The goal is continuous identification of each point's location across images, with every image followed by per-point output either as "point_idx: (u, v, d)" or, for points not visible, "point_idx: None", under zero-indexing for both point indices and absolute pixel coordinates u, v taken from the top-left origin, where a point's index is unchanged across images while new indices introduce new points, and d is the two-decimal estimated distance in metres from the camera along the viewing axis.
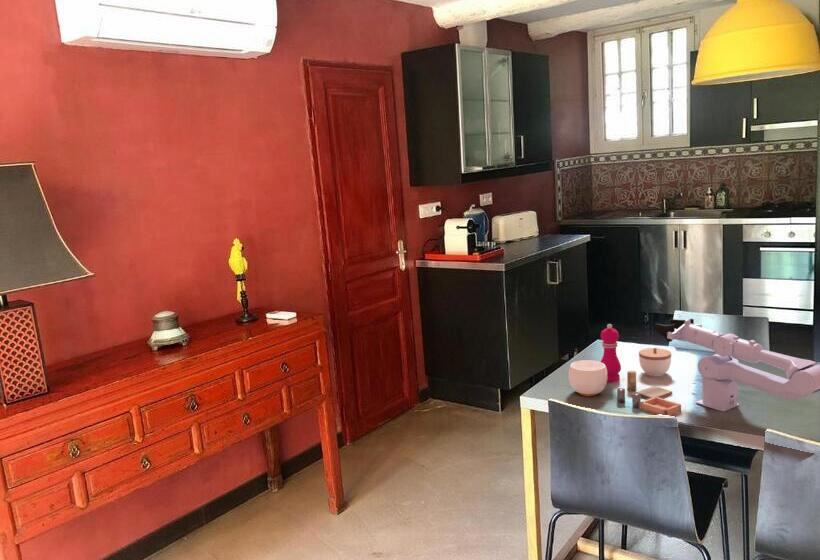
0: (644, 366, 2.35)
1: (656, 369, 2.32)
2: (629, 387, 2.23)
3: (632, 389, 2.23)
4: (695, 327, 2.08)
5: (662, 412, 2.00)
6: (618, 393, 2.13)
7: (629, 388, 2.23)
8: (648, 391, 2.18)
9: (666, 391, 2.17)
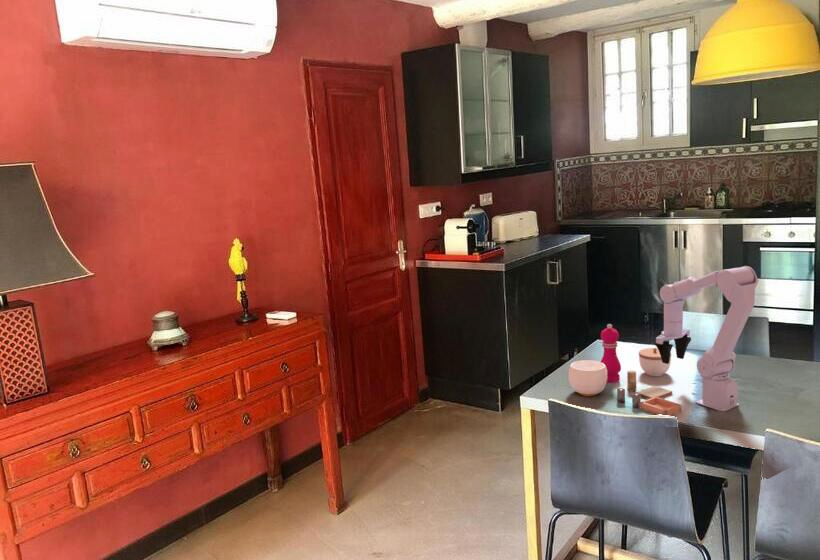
0: (644, 366, 2.35)
1: (656, 369, 2.32)
2: (629, 387, 2.23)
3: (632, 389, 2.23)
4: None
5: (662, 412, 2.00)
6: (618, 393, 2.13)
7: (629, 388, 2.23)
8: (648, 391, 2.18)
9: (666, 391, 2.17)
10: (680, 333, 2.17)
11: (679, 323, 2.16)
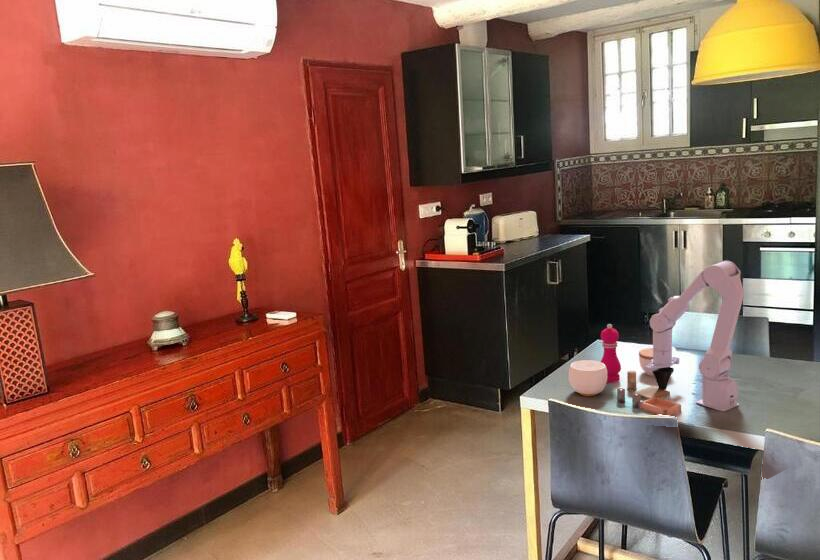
0: (644, 366, 2.35)
1: None
2: (629, 387, 2.23)
3: (632, 389, 2.23)
4: None
5: (662, 412, 2.00)
6: (618, 393, 2.13)
7: (629, 388, 2.23)
8: (645, 391, 2.18)
9: (664, 391, 2.17)
10: (669, 362, 2.16)
11: (668, 352, 2.15)
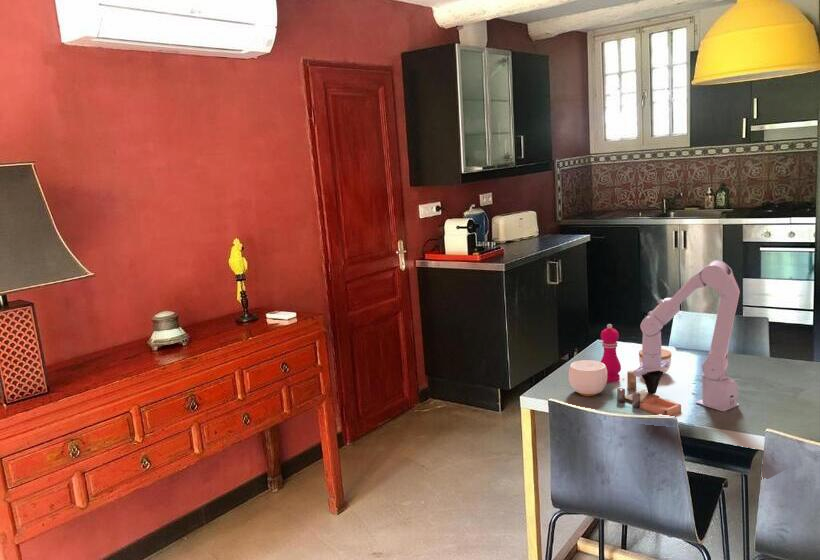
0: None
1: None
2: (629, 387, 2.23)
3: (632, 389, 2.23)
4: None
5: (662, 412, 2.00)
6: (618, 393, 2.13)
7: (629, 388, 2.23)
8: None
9: (653, 396, 2.14)
10: (659, 365, 2.13)
11: (657, 355, 2.12)
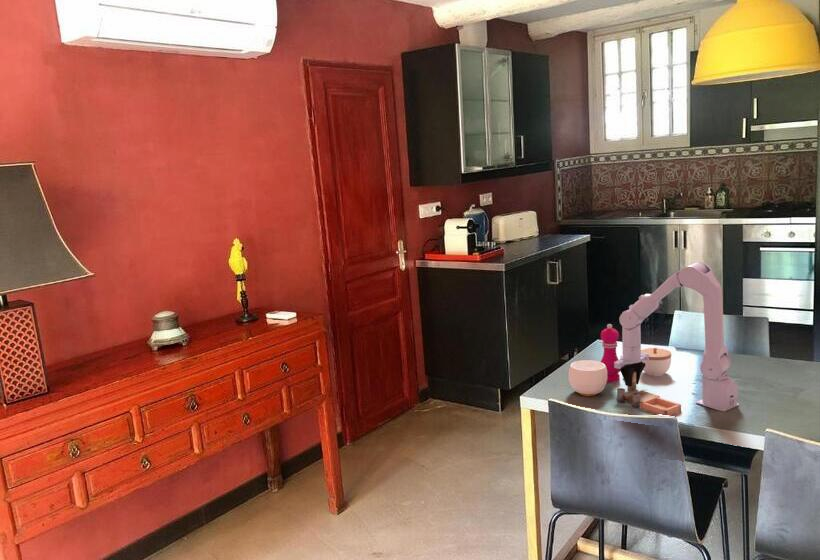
0: None
1: (656, 369, 2.32)
2: (629, 387, 2.23)
3: (632, 389, 2.23)
4: None
5: (662, 412, 2.00)
6: (618, 393, 2.13)
7: (629, 388, 2.23)
8: None
9: (653, 396, 2.14)
10: (638, 358, 2.20)
11: (637, 348, 2.19)
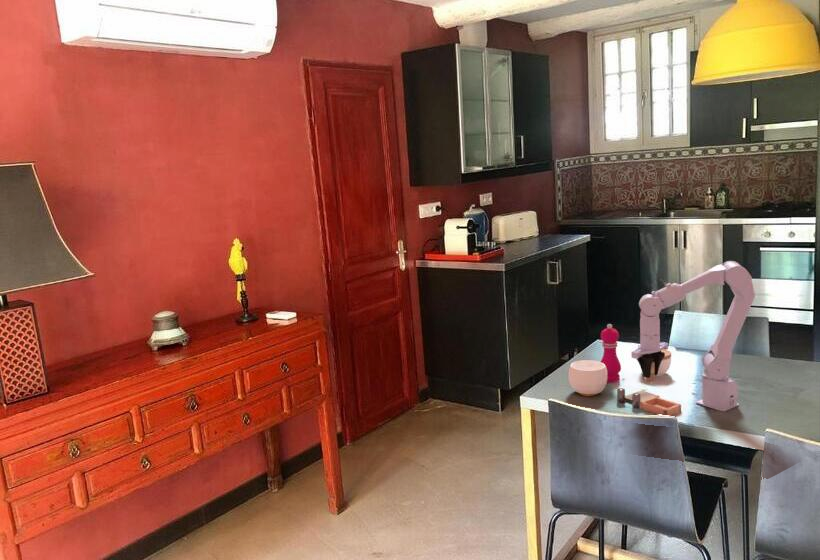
0: None
1: None
2: (647, 378, 2.10)
3: (650, 380, 2.09)
4: None
5: (662, 412, 2.00)
6: (618, 393, 2.13)
7: (647, 379, 2.10)
8: None
9: (653, 396, 2.14)
10: (657, 347, 2.06)
11: (656, 336, 2.05)
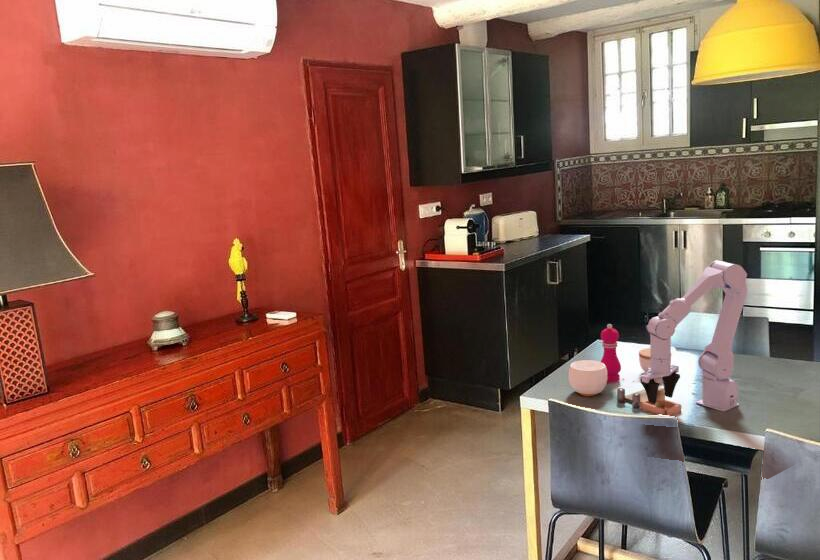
0: (644, 366, 2.35)
1: None
2: (657, 406, 2.04)
3: None
4: None
5: (662, 412, 2.00)
6: (618, 393, 2.13)
7: None
8: None
9: None
10: (668, 371, 2.00)
11: (667, 360, 2.00)
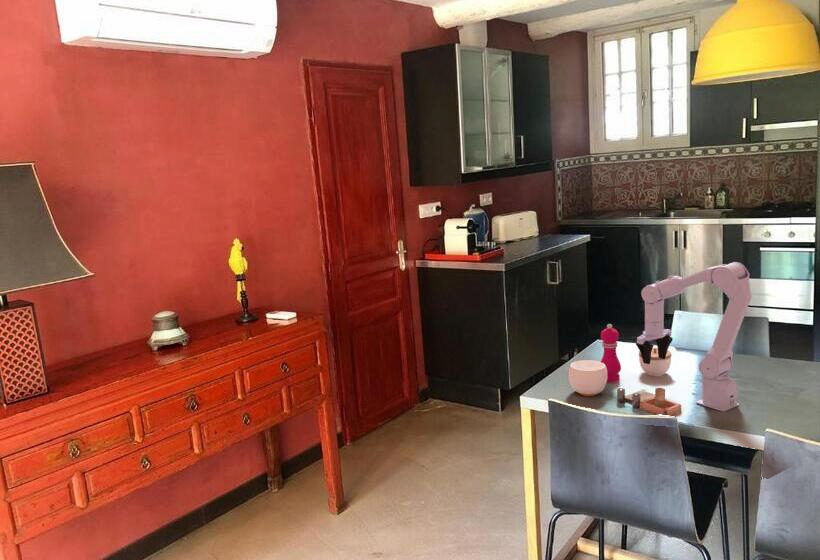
0: (644, 366, 2.35)
1: (656, 369, 2.32)
2: (657, 406, 2.04)
3: None
4: None
5: (662, 412, 2.00)
6: (618, 393, 2.13)
7: None
8: None
9: (653, 396, 2.14)
10: (661, 333, 2.16)
11: (660, 323, 2.16)
